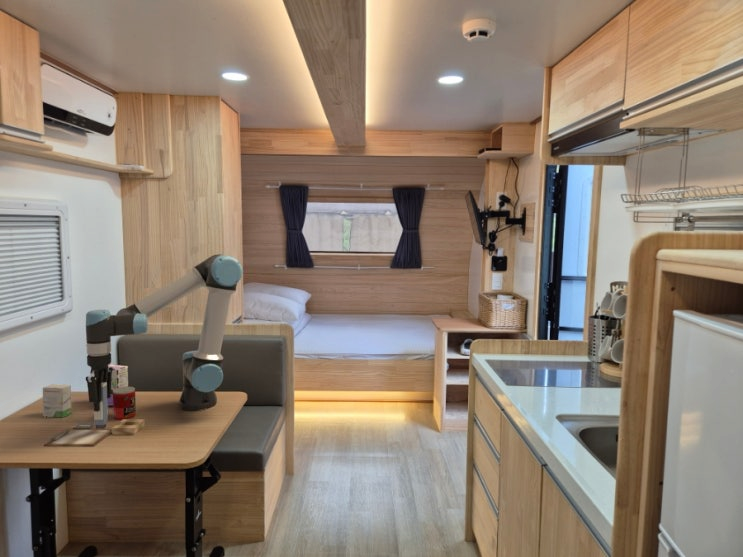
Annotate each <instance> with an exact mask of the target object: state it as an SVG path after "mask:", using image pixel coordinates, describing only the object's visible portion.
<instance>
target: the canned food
mask: <svg viewBox="0 0 743 557" xmlns="http://www.w3.org/2000/svg"><path fill="white" fill-rule="evenodd" d="M136 406H137V405H136V388H135V387H134V386H128V387H120V388H116V389H114V390H113V417H114V419H115V420H118V421H122V420H123V419H134V417H135V416H136V413H137V411H136V410H137V408H136Z"/></svg>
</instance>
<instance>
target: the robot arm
mask: <svg viewBox="0 0 743 557" xmlns="http://www.w3.org/2000/svg"><path fill="white" fill-rule="evenodd" d="M242 276H243V267H242V265H241V263H240V261H239V260H237V259H236V258H235V257H234V256H231V255H227V254H226V255H225V254H221V253H219V254H213V255H211V256H209V257H207V258H206V259H205V260H203V261H201V262H200V263H199V264H197V265H195V266H193V267H192V269H191V271H189V272H188V273H186V274H184V275H182V276H181V277H179V278H177V279H175V280H173V281H172V282H170V283H168V284H167V285H164V286H162V287H161V288H159V289H157V290H156V291H154V292H152V293H150V294H149V295H147V296H145V297H143V298H141V299H140V300H137V302H134V303H133V304H131V305H130V306H127V307H124V308H121V309H119V310H118V311H117V312H116V314H115V315H113V314H111V311H110V310H108V309H94V310H89V311H87V312H86V314H85V334H86V335H85V336H86V338H85V339H86V341H85V342H86V354H87V355H86V365H87V366H88V367H90V374H89V376H86V377H85V382H86V384H87V393H88V394H87V395H88V401H89V403H94V404H93V421H94V420H102V419H103V403H102V401H101V385H102V382H107V398H110V396H111V395H109V394H111V380H112V370H113V367H108V365H109V364H112V353H111V352H112V343H111V342H112V339H111V337H117V336H118V337H119V336H130V335H131V336H132V335H133V336H134V335H142V334H146V333H147V331H148V319H149V318H150V317H152V316H153V315H155V314H157V313H159V312H161V311H162V310H164V309H166V308H168V307H169V306H171V305H173V304H174V303H176V302H178V301H180V300H181V299H183V298H184V297H186V296H188V295H191V293H193V292H195V291H197V290H199V289H200V288H206V289H207V291H208V295H207V300H206V305H205V311H204V316H203V321H202V326H201V332H200V338H199V342H198V348H197V350H190V351H186V352H184V353H183V354H182V359H181V361H182V381H183V382H182V385H183V388H182V392H181V394H180V398H179V400H178V403H179V404H178V406H179V408H180V409H181V410H184V411H202V410H205V408H207V409H209V407H210V408H212V407H215V406H216V405H217V404H216V403H218V396H217V394H216V391H215V390H216V389H217V388H219V387H220V386H221V384H222V382H223V380H224V372H223V370H222V368H223V364H224V363H223V361H224V356H223V355H222V354H221V350H222V346H223V340H224V335H225V329H226V324H227V318H228V314H229V307H230V303H231V297H232V295H233V294H234V293H235V292H236V291H237V286H238V283H239V281H240V280H241V279H242ZM215 404H216V405H215ZM201 409H202V410H201ZM108 416H109V413H108V407H107V417H108Z"/></svg>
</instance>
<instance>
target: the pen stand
mask: <svg viewBox="0 0 743 557" xmlns="http://www.w3.org/2000/svg"><path fill="white" fill-rule="evenodd" d="M145 422H146V421H145V419H143V418H142V419H139V418H137V419H134V418H130V419H123V420H119V422H117V423H116V424H115V425H114V426H112V427H111V430H112V433H111V435H116V436H117V435H118V436H119V435H121V436H125V435H127V436H134V435H136V434H137V433H139V432H140V431H141V430H142V429H143V428H144V427H146V426H145V425H146V424H145Z"/></svg>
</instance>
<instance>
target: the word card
mask: <svg viewBox="0 0 743 557" xmlns="http://www.w3.org/2000/svg"><path fill="white" fill-rule="evenodd" d="M93 427H95V425H94V423H78V424H76V425H75V426H74V427H72V429H92V428H93Z"/></svg>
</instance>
